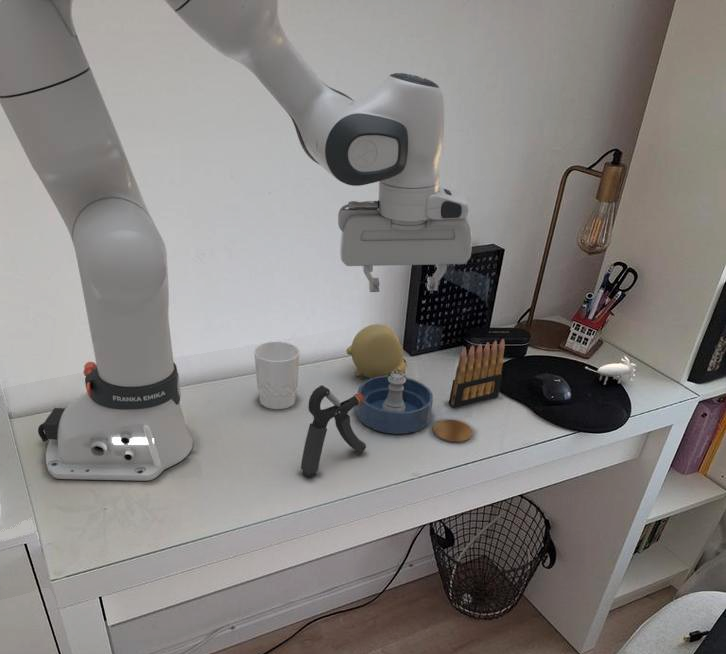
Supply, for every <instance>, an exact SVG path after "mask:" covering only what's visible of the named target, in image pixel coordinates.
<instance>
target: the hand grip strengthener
mask: <svg viewBox="0 0 726 654" xmlns="http://www.w3.org/2000/svg"><path fill="white" fill-rule="evenodd" d="M324 398H326V399H328V400H329V402H330V403H332V404H333V405H332V406H329V407H326V408H323V409H322V408H321V405H322V401H323V399H324ZM363 402H364V397H363V395H362V394H361V393H358V392H357V393H356V394H354V395H352V396H351V397H350V398H348V399H346V400H343V401H341V400H340V399H339V398H338V397H337V396H335V394H334V393H332V391H331V390H330V389H329V388H328V387H326V386H324V385H322V384H321V385H319V386H318V387H316V388H314V390H313V391H312V393H311V395H310V397H309V400H308V407H307V408H308V412H309V414H311V415H312V418H313V421H312V422H311V423H309V426H308V431H307V434H306V438H305V442H304V447H303V452H302V458H301V463H300V470H302V474H303V475H304V476H305V477H306V478H307V479H309V478H311V477H314V476H317V473H318V471H319V467H320V461H321V456H322V452H323V447H324V443H325V440H326V436H327V431H328V428H327V426H328V424H329V422H330V420H332V419H333V418H334V422H335V427H336V429H337V431H338V433H339V434H340V436H341V438H342V439H343V440H344V442H345V444H347V445H348V446H349V447H350V448H351V449H353V450H354V451H356V452H358V453H360V454H363V452H364V451H365V450H366V448H367V444H366V443H365V442H364V441H363V440H361V439H360V438H359V437H358V435H356V433H355V432H354V430H353V428H352V426H351V416H350V415H349V412H350V411H351V410H352V409H353V408H355V407H357V405H360V404H362V403H363Z"/></svg>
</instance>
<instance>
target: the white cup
mask: <svg viewBox="0 0 726 654" xmlns="http://www.w3.org/2000/svg"><path fill="white" fill-rule="evenodd" d="M253 354H254V363H255V365H254V367H255V376H256V377H255V378H256V385H257V391H258V400H259V403H260V405H262V406H264V408H267V409H269V410H285V409H289V408H290V407H292V406H294V405H295V404H296V401H297V389H298V380H299V365H300V364H299V363H300V349H299V348H298V347H297V346H296V345H294V344H292V343H289V342H285V341H269V342H268V341H267V342H263V343H261V344H259V345H257V346H256V347H254V351H253Z"/></svg>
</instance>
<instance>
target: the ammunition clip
mask: <svg viewBox="0 0 726 654" xmlns="http://www.w3.org/2000/svg"><path fill="white" fill-rule="evenodd" d="M505 344H506V343H505V339H504V338H502V339H501V340H500V343H499V345H498V342H497V340H496V339H495V340H494V341H493V343H492V345H491V346H490V342H489V341H487V342H486V344H485V346H484V348H483V345H482V343H479V344H478V346H477V348H476V351H475V345H471V346H470V348H469V349H468V353H467V347H466V346H464V347H463V348H462V349H461V353H460V355H459V360H458V363H457V366H456V371H455V376H454V379H453V380H452V385H451V389H450V395H449V400H448V405H449V406H451V407H452V408H453V409H457V408H461V407H466V406H469V405H473V404H474V405H475V404H477V403H480V402H481V403H482V402H485V401H489V400H493V399H496V398H499V395H500V390H501V383H502V378H503V373H502V369H503V364H504V353H505Z"/></svg>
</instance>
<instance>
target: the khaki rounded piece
mask: <svg viewBox="0 0 726 654" xmlns="http://www.w3.org/2000/svg"><path fill="white" fill-rule="evenodd" d="M403 352H404V351H403V348H402V344H401V342H400V340H399V338H398V337H397V335H396V333H395V332H394V331H393V330H392V328H391V327H389V326H388V325H385V324H381V323H376V324H375V323H374V324H371V325H367V326H365V327H363V328H362V329H361V330H359V331H358V332H357V333H356V335H355V336H354V338H353V340H352V343H351V345H350V346H348V347H347V348H346V354H347V355H348V356H351V359H352V362H353V364H354V366H355V368H356V370H355V375H356V376H357V377H362V376H364V377H366V378H369V379H371V378H375V377H379V376H390V374H391V372H394V374H396V371H399V372H398V374H400V373H401V372H402V373H403V374H404V375H405V373H406V367H407V366H408V363H407V361H406V359H405V358H404V353H403Z"/></svg>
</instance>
